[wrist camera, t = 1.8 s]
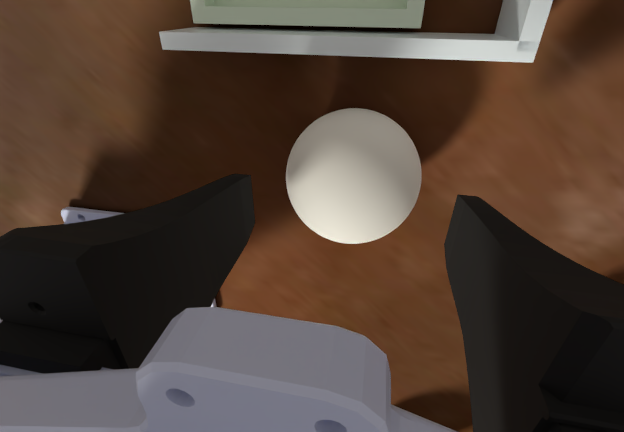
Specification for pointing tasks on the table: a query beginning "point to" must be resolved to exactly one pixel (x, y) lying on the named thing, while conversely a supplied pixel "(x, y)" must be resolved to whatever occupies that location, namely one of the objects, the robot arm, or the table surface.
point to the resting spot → (311, 12)
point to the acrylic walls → (381, 39)
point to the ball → (353, 175)
